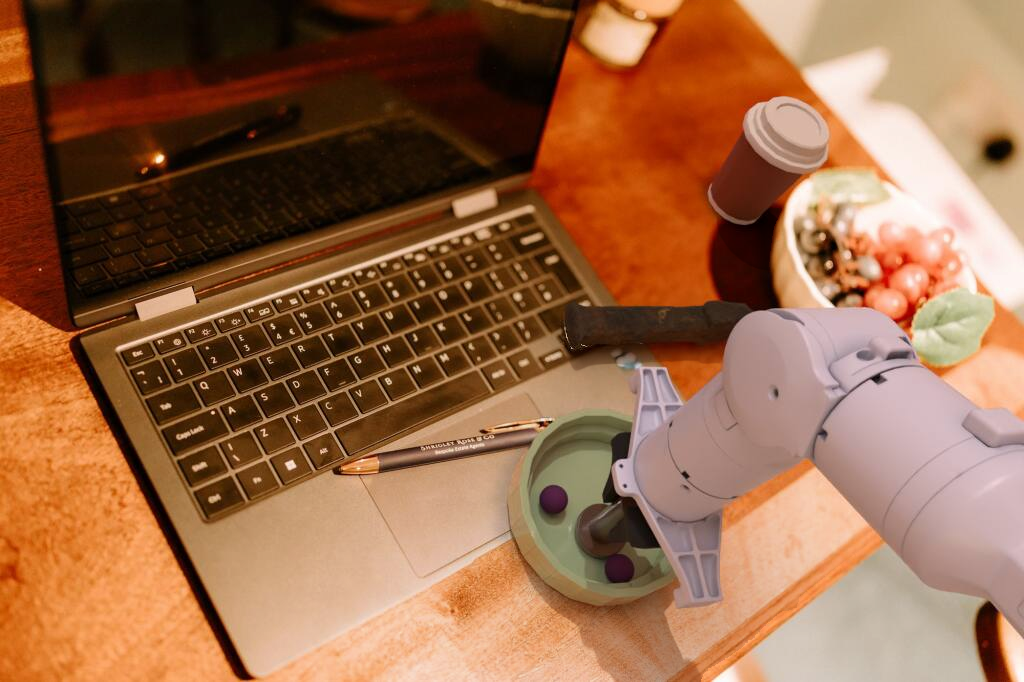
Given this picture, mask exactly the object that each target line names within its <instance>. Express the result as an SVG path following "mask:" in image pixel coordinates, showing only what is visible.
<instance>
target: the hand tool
mask: <svg viewBox="0 0 1024 682" xmlns="http://www.w3.org/2000/svg"><path fill="white" fill-rule="evenodd" d="M564 311H565V327H566V333H567V337H568V340H569V342H570V345H569V343H568V341H567V338H566V334H565V330H564V324H563V319H561V328H562V334H563V339H564V343H565V344H566V346H567V348H568V349H569V350H570V351H573V350H574V349H571V347H572V348H575V347H576V348H578V347H579V346H581V347H582V348H584V349H588V348H592V347H593V346H594V345H595V344H600V345H611V344H612V345H614V346H615V345H624V344H638V343H642V344H658V343H689V342H690V343H692V344H693V345H695V346H704V345H712V344H715V343H718V342H722V341H725V340H726V341H727V340H728V338H729V336H730V334H731V332H732V330H733V328H734V327H735V326H736V324H737V323H738V322H739V321H740V320H741V319H742V318H743V317H745V316H746V315H748V314H750V313H752V312H755V310H754V309H751V307H749V306H748V305H747V303H742V302H733V301H732V302H730V301H726V300H725V301H724V300H714V299H713V300H707V301H705V302H704V303H703V304H701V305H688V306H687V305H685V306H673V305H606V306H600V305H596V306H595V305H589V306H588V305H582V304H579V303H578V302H577V301H574V300H573V301H570V302H569V303H568V304H567V306H566V308H565V310H564ZM562 318H563V317H562ZM581 344H582V345H585V346H589V347H585V346H582V345H581ZM642 344H639V345H642ZM570 346H571V347H570ZM595 346H596V345H595ZM576 348H575V349H576Z"/></svg>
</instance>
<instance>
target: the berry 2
mask: <svg viewBox="0 0 1024 682" xmlns="http://www.w3.org/2000/svg"><path fill="white" fill-rule="evenodd" d="M634 570H635V569H634V564H633V562H632V560H631V559H630V558H629V557H628V556H626V555H624V554H614V555H612V556H610V557H609V558H608V559H607V561H606V563H605V574H606V576H607V578H608V579H609V580H610V581H611V582H612V583H625V582H629V581H630V580H631V579H632V578H633V576H634Z"/></svg>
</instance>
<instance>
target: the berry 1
mask: <svg viewBox="0 0 1024 682" xmlns="http://www.w3.org/2000/svg"><path fill="white" fill-rule="evenodd" d="M539 502H540V505H541V507H542V509H543V510H544V511H545V512H547V513H549V514H559V513H561V512H562V511H564V510H565V508H566V507H567V504H568V495H567V493H566V491H565V490H564V489H563V488H562V487H560V486H558V485H549V486H547V487H545V488H544V489H543V490H542V491H541V493H540V497H539Z"/></svg>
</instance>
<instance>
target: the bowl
mask: <svg viewBox="0 0 1024 682" xmlns="http://www.w3.org/2000/svg"><path fill="white" fill-rule="evenodd" d="M633 417H634V415H630V414H626V413H623V412H620V411H616V410H614V409H610V408H583V409H579V410H576V411H573V412H570V413H567V414H564V415H561V416H559V417H557V418H556V419H554V420H553V421H552V422H551V423H549V424H548V425H547V426H546V427H545V428H544V429H542V430H541V431H539V433H538V434H537V435H535V437H534V438H533V440H532V442H531V443H530V444H529V445H528V446H527V448H526V449H525V451H524V452H523V454H522V456H521V457H520V459H519V460H518V462H517V464H516V466H515V467H514V469H513V472H512V475H511V479H510V484H509V488H508V494H507V509H508V516H509V517H508V518H509V525H510V530H511V532H512V535H513V537H514V539H515V542H516V544H517V546H518V549H519V551H520V554H521V556H522V557H523V558H524V560H525V561H526V562H527V564H529V566H530V568H532V569H533V571H534V572H535V573H536V574H537V576H538V577H539V578H540V580H542V581H543V582H544V583H545V584H547V585H548V586H550V587H551V588H553V589H554V590H555V591H558V592H559V593H560V594H562V595H563V596H565V597H566V598H568V599H570V600H574V601H578V602H580V603H585V604H588V605H592V606H596V607H604V606H617V605H626V604H629V603H632V602H634V601H636V600H638V599H640V598H643V597H645V596H647V595H649V594H651V593H653V592H655V591H657V590H659V589H661V588H663V587H665V586H668V585H670V584H671V583H672V582H673V581H674V580H675V579H676V578H677V576H676V574H675V572H674V570H673V568H672V566H671V564H670V562H669V561H668V559H667V557H666V555H665V553H664V551H663V550H662V548H654V549H639V548H634V547H631V545H630V543H629V542H626V544H625V546H624V547H623V549H622V550H621V551H620V552H618V553H617V554H624V555H626V556H628V557H629V558H630V559H631V560H632V562H633V564H634V569H635V570H634V576H633V578H632V579H631V580H630V581H629V582H625V583H612V582H611V581H610V580H609V579H608V578H607V576H606V574H605V563H606V561H607V559H608V558H596V557H593V556H591V555H589V554H588V553H587V552H585V551H584V550H583V549H582V548H581V546H580V545H579V543H578V541H577V538H576V535H575V524H576V520H577V518H578V516H579V515H580V513H581V512H582V511H583V510H584V509H586V508H587V507H588V506H590V505H593V504H598V503H601V504H607V505H610V504H611V503H603V498H602V493H603V490H604V487H605V485H606V482H607V479H608V476H609V473H610V469H611V463H612V447H611V440H612V438H613V437H614V436H616V435H617V434H619V433H622V432H631V431H632V424H633ZM549 485H558V486H560V487H562V488H563V489H564V490H565V491H566V493H567V495H568V504H567V507H566V508H565V510H564V511H562V512H561V513H559V514H549V513H547V512H545V511H544V510H543V509H542V507H541V505H540V502H539V497H540V493H541V491H542V490H543V489H544V488H545V487H547V486H549Z"/></svg>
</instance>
